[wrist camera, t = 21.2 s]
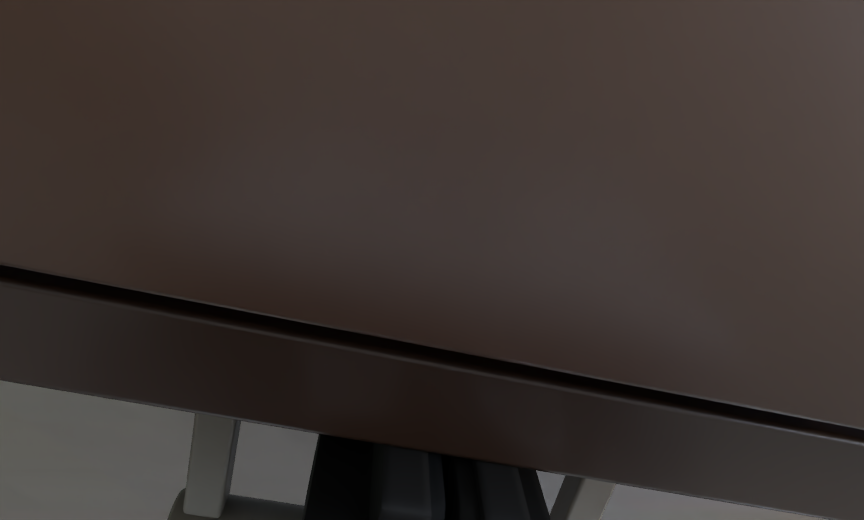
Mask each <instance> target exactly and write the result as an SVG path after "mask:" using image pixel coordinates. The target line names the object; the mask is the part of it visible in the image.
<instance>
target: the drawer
mask: <svg viewBox="0 0 864 520" xmlns="http://www.w3.org/2000/svg"><path fill="white" fill-rule="evenodd" d="M0 380H2V381H8V382H14V383H20V384H26V385H32V386H37V387H43V388H49V389H55V390H61V391H67V392H73V393H79V394H85V395H91V396H97V397H103V398H109V399H115V400H121V401H127V402H133V403H139V404H145V405H151V406H157V407H163V408H169V409H174V410H180V411H186V412H192V413H195V419H194V427H193V435H192V443H191V451H190V458H189V466H188V474H187V482H186V488H184V489H182V490H181V491H180V493H179V494H178V496H177V498H176V499H175V502H174V504H173V506H172V508H171V511H170V514H169V516H168V519H167V520H302V516H303V510H304V506H303V505H297V504H290V503H284V502H277V501H271V500H264V499H257V498H251V497H244V496H238V495H231V494H229V493H230V486H231V480H232V474H233V468H234V461H235V455H236V449H237V443H238V436H239V430H240V424H241V421H246V422H252V423H258V424H264V425H270V426H276V427H282V428H288V429H294V430H300V431H305V432H311V433H317V434H323V435H329V436H335V437H341V438H347V439H353V440H359V441H365V442H371V443H377V444H383V445H389V446H395V447H401V448H407V449H413V450H419V451H425V452H431V453H436V454H442V455H448V456H454V457H460V458H466V459H472V460H478V461H484V462H490V463H496V464H502V465H508V466H514V467H520V468H526V469H532V470H538V471H544V472H550V473H556V474H562V475H566V476H565V478H564V481H563V483H562V485H561V488H560V490H559V493H558V495H557V498H556V500H555V503H554V505H553V508H552V510H551V513H550V515H549V516H550V520H600V519H601V517H602V515H603V512H604V510H605V508H606V506H607V503H608V501H609V499H610V497H611V494H612V492H613V490H614V487H615V485H616V484H621V485H627V486H633V487H639V488H645V489H651V490H657V491H663V492H669V493H675V494H681V495H687V496H693V497H698V498H704V499H710V500H716V501H722V502H728V503H734V504H740V505H746V506H752V507H758V508H764V509H770V510H776V511H782V512H788V513H794V514H800V515H806V516H812V517H818V518H824V519H830V520H864V430H861V429H856V428H851V427H846V426H840V425H835V424H830V423H825V422H820V421H814V420H809V419H804V418H799V417H793V416H788V415H783V414H778V413H773V412H767V411H762V410H757V409H752V408H746V407H741V406H736V405H731V404H726V403H720V402H715V401H710V400H705V399H699V398H694V397H689V396H684V395H678V394H673V393H668V392H663V391H658V390H652V389H647V388H642V387H637V386H631V385H626V384H621V383H616V382H611V381H605V380H600V379H595V378H590V377H584V376H579V375H574V374H569V373H564V372H558V371H553V370H548V369H543V368H537V367H532V366H527V365H522V364H517V363H511V362H506V361H501V360H496V359H490V358H485V357H480V356H475V355H470V354H464V353H459V352H454V351H449V350H443V349H438V348H433V347H428V346H423V345H417V344H412V343H407V342H402V341H396V340H391V339H386V338H381V337H375V336H370V335H365V334H360V333H355V332H349V331H344V330H339V329H334V328H328V327H323V326H318V325H313V324H308V323H302V322H297V321H292V320H287V319H281V318H276V317H271V316H266V315H261V314H255V313H250V312H245V311H240V310H234V309H229V308H224V307H219V306H214V305H208V304H203V303H198V302H193V301H187V300H182V299H177V298H172V297H167V296H161V295H156V294H151V293H146V292H140V291H135V290H130V289H125V288H119V287H114V286H109V285H104V284H99V283H93V282H88V281H83V280H78V279H72V278H67V277H62V276H57V275H52V274H46V273H41V272H36V271H31V270H25V269H20V268H15V267H10V266H5V265H0Z"/></svg>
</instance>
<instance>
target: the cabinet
mask: <svg viewBox="0 0 864 520" xmlns="http://www.w3.org/2000/svg"><path fill="white" fill-rule="evenodd" d="M0 265H5V266H10V267H15V268H20V269H25V270H31V271H36V272H41V273H46V274H52V275H57V276H62V277H67V278H72V279H78V280H83V281H88V282H93V283H99V284H104V285H109V286H114V287H119V288H125V289H130V290H135V291H140V292H146V293H151V294H156V295H161V296H167V297H172V298H177V299H182V300H187V301H193V302H198V303H203V304H208V305H214V306H219V307H224V308H229V309H234V310H240V311H245V312H250V313H255V314H261V315H266V316H271V317H276V318H281V319H287V320H292V321H297V322H302V323H308V324H313V325H318V326H323V327H328V328H334V329H339V330H344V331H349V332H355V333H360V334H365V335H370V336H375V337H381V338H386V339H391V340H396V341H402V342H407V343H412V344H417V345H423V346H428V347H433V348H438V349H443V350H449V351H454V352H459V353H464V354H470V355H475V356H480V357H485V358H490V359H496V360H501V361H506V362H511V363H517V364H522V365H527V366H532V367H537V368H543V369H548V370H553V371H558V372H564V373H569V374H574V375H579V376H584V377H590V378H595V379H600V380H605V381H611V382H616V383H621V384H626V385H631V386H637V387H642V388H647V389H652V390H658V391H663V392H668V393H673V394H678V395H684V396H689V397H694V398H699V399H705V400H710V401H715V402H720V403H726V404H731V405H736V406H741V407H746V408H752V409H757V410H762V411H767V412H773V413H778V414H783V415H788V416H793V417H799V418H804V419H809V420H814V421H820V422H825V423H830V424H835V425H840V426H846V427H851V428H856V429H861V430H864V0H0Z"/></svg>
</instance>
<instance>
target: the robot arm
mask: <svg viewBox="0 0 864 520" xmlns="http://www.w3.org/2000/svg"><path fill="white" fill-rule="evenodd" d="M302 520H550V516H549V513H548V510H547V506H546V503H545V500H544V496H543V493H542V489H541V486H540V483H539V479H538V476H537V473H536V470H532V469H526V468H520V467H514V466H508V465H502V464H496V463H490V462H484V461H478V460H472V459H466V458H460V457H454V456H448V455H442V454H436V453H431V452H425V451H419V450H413V449H407V448H401V447H395V446H389V445H383V444H377V443H371V442H365V441H359V440H353V439H347V438H341V437H335V436H329V435H323V434H319V437H318V441H317V446H316V451H315V455H314V460H313V465H312V470H311V475H310V480H309V485H308V490H307V495H306V500H305V505H304V510H303V516H302Z"/></svg>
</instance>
